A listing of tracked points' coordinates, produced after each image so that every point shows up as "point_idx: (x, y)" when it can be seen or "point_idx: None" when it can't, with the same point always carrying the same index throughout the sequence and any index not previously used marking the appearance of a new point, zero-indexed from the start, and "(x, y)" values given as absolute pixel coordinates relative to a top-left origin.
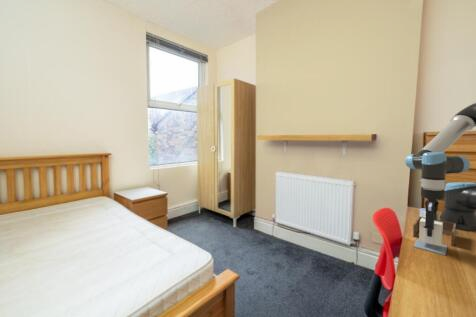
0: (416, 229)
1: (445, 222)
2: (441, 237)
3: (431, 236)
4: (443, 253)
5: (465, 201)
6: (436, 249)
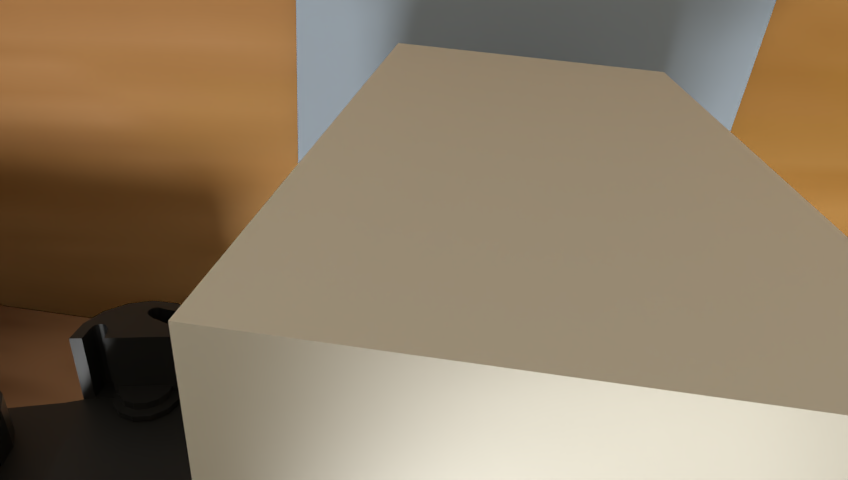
0: (60, 371)
1: None
2: (622, 114)
3: None
4: (739, 11)
5: None
6: None
